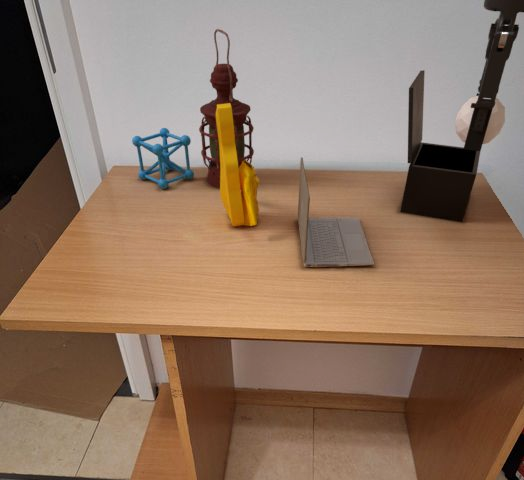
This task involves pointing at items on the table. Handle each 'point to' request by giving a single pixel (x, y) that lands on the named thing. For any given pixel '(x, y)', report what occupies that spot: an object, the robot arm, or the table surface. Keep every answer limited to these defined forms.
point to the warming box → (440, 181)
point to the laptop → (329, 236)
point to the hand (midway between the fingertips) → (473, 141)
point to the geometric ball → (493, 126)
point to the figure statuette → (235, 174)
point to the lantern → (224, 84)
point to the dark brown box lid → (415, 115)
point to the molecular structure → (163, 157)
